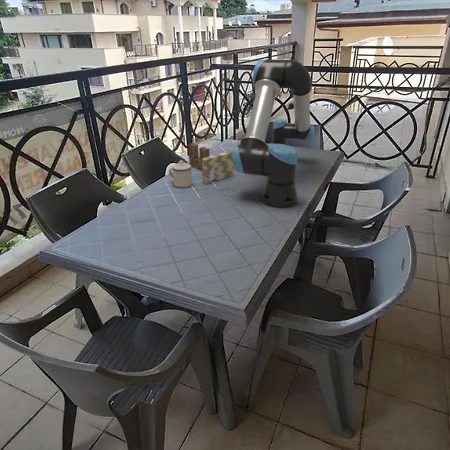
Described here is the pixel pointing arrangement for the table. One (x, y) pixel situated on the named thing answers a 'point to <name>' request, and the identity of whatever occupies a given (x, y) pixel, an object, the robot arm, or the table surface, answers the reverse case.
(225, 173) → the birch board
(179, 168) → the teacup with lid
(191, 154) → the brown wooden u block
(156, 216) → the table surface
